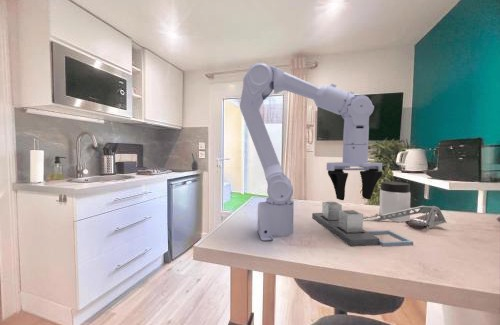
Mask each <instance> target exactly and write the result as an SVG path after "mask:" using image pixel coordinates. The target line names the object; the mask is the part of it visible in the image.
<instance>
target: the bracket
mask: <svg viewBox="0 0 500 325" xmlns="http://www.w3.org/2000/svg"><path fill="white" fill-rule="evenodd" d="M417 209H418V211H417ZM405 211H407V212H406V213H405V214H404V213H403V212H405ZM411 211H412V212H411ZM399 213H401V215H398V214H399ZM392 214H395V215H394V216H393V215H392ZM417 214H424V217H423V220H422V222H426V223H425V224H427V222H428V225H429V226H427V227H426V228H427V229H429V228H430V229H432V228H434V227H436V226H439V225H442V224H444V223H445V224H447V223H448V222H447V220H446V218H445V216H444V214H443V212H442V210H441V209H440V207H437V206H435V205H432V206H431V205H430V206H427V205H420V206H415V207H410V209H405V210H401V211H396V212H392V213H387V214H383V215H379V213H375V215H369V216H365V217H364V216H363V220H364V219H365V220H366V219H370V222H379V221H385V220H389V219H391V218H397V217H402V216H407V215H410V216H411V215H412V216H414V215H417ZM389 215H390V216H391V217H388V216H389ZM383 216H386V217H385V218H384V217H383ZM436 216H437V218H438V219H437V218H436ZM377 217H378V218H377ZM372 218H375V219H372ZM435 218H436V219H435ZM425 220H426V221H425Z"/></svg>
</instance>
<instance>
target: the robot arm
mask: <svg viewBox="0 0 500 325" xmlns="http://www.w3.org/2000/svg"><path fill="white" fill-rule="evenodd" d="M242 79H243V83H242V92H241V96H240V100H239V101H240V102H239V108H240V112H241V114H242V117H243V119H244V121H245V125H246V127H247V130H248V133H249V135H250V137H251V140H252V143H253V146H254V148H255V151H256V153H257V156H258V159H259V161H260V164H261V166H262V169H263V172H264V176H265V180H266V183H267V196H268V197H266V199H265V201H259V202H258V204H257V224H256V225H257V227H256V228H257V229H256V230H257V232H258V234H259V235H258V236H259V237H260V240H261V241H274V239H273V237H288V236H292V235H293V234H294V208H295V207H294V205H295V204H294V201H295V200H294V199H293V196H294V187H293V185H292V182H291V180H290V178H289V177H288V176H286V175H285V173H284V171H283V168H282V166H281V164H280V161H279V159H278V156H277V153H276V151H275V148H274V145H273V143H272V141H271V138H270V137H271V136H270V135H269V133H268V129H267V127H266V124H265V122H264V119H263V117H262V114H261V111H260V108H261V107H262V105H263V103H264V100H266V99H267V98H268V97H269V96H271V94H272V92H273V93H274V94H278V93H280V92H284V91H287V92H289V93H292V94H295V95H299V96H302V97H304V98H308V99H310V100H313V102H314V104H315V106H316V107H318V108H320V109H322V110H325V111H327V112H330V113H333V114H336V115H339V116H340V115H341V118H342V119H343V120H344V121H343V134H342V137H343V139H342V144H343V145H342V162H341V161H340V162H339V161H336V162H326V171H327V175H328V177H329V178H330V181H331V183H332V185H333V188H334V192H335V197H336V198H335V199H337V200H339V201H344V200H345V197H346V194H345V193H346V183H347V180H348V176H349V173H348V172H345V171H359V175H360V178H361V185H362V186H361V188H362V189H361V194H362V195H361V196H362V198H363V199H367V200H371V199H372V196H373V193H374V190H375V187H376V185H377V183H378V181H379V180H380V178H381V177H382V176H383V163H382V162H368V160H369V157H368V156H369V139H370V137H369V135H370V132H369V131H370V116H371V115H372V114H373V112H374V110H375V105H373V102H372V100H371V99H370V97H368V96H367V95H364V94H359V95H358V94H357V95H355V92H354V91H350V92H349V91H346V90H343V89H340V88H338V87H337V85H336V84H335V83H330V85H329V84H328V83H325V84H323V85H321V86H319V85H318V86H317V85H315V84H313V83H311V82H309V81H306V80H304V79H302V78H299V77H297V76H295V75H293V74H291V73H288V72H286V71H284V70H283V69H281V68H278V67H276V66H274V65H273V66H272V65H270V66H269V65H268V64H266V63H265V62H257V63H253V64H252V65H251V66H250V67H249V69H248V70H247V71H246V73H245V75H244V76H243V78H242ZM351 167H352V168H351ZM353 167H354V168H353ZM356 167H357V168H356Z"/></svg>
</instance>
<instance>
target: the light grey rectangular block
mask: <svg viewBox="0 0 500 325" xmlns="http://www.w3.org/2000/svg"><path fill="white" fill-rule="evenodd" d="M363 217H364V214H363V213H361V212H359V211H357V210H355V209H349V210H348V209H347V210H345V209H342V210H339V229H340V230H341V231H343V232H344V233H346V234H357V233H363V230H364V229H363V228H364V224H363V223H364V219H363Z"/></svg>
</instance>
